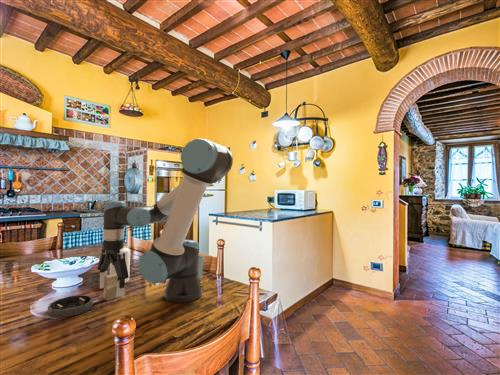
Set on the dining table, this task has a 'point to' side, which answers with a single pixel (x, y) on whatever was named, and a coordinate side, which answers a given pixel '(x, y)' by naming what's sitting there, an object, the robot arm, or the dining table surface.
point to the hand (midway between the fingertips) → (111, 291)
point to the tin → (70, 306)
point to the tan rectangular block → (110, 286)
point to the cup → (200, 266)
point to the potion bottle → (127, 259)
